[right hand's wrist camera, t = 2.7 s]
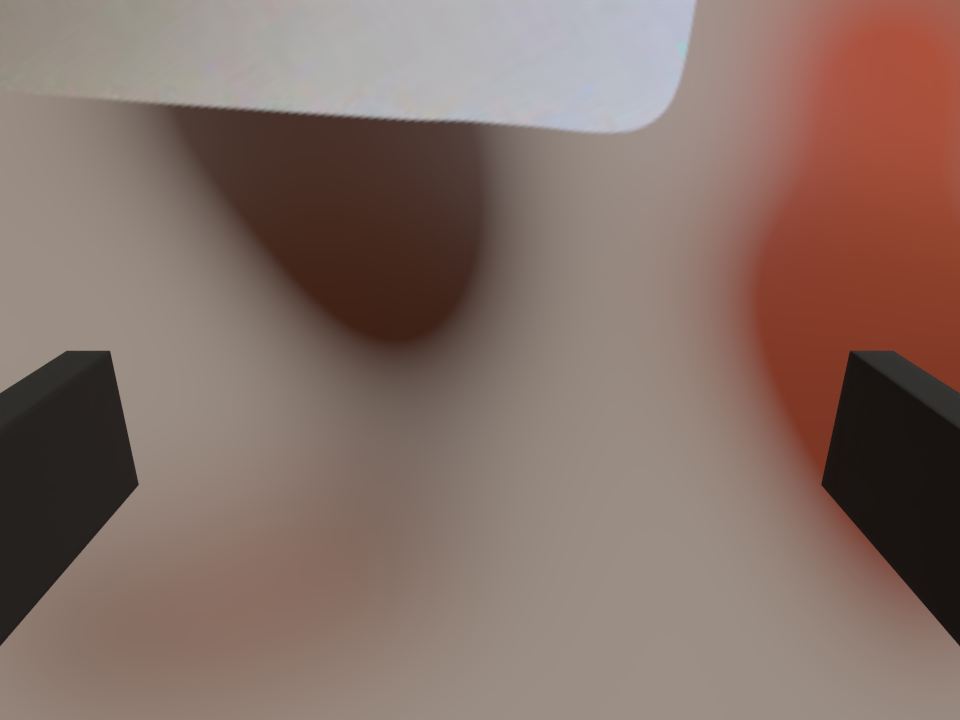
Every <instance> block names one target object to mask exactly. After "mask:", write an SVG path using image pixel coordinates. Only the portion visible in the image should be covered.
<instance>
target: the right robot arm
mask: <svg viewBox="0 0 960 720" xmlns="http://www.w3.org/2000/svg"><path fill="white" fill-rule="evenodd" d="M138 485H139V484H138V480H137V475H136V470H135V466H134V461H133V456H132V452H131V447H130V442H129V437H128V433H127V428H126V424H125V419H124V414H123V409H122V405H121V400H120V396H119V391H118V386H117V381H116V377H115V372H114V367H113V363H112V358H111V354H110V351H66V352H64V353H63V354H61V355H60V356H58V357H56V358H55V359H53V360H52V361H50V362H49V363H47V364H45V365H44V366H42V367H41V368H39V369H38V370H36V371H34V372H33V373H31V374H30V375H28V376H27V377H25V378H23V379H22V380H20V381H19V382H17V383H16V384H14V385H12V386H11V387H9V388H8V389H6V390H5V391H3V392H2V393H0V646H1V644H2V643H3V642H4V641H5V640H6V639H7V637H8V636H9V635H10V634H11V633H12V632H13V630H14V629H15V628H16V627H17V626H18V625H19V624H20V622H21V621H22V620H23V619H24V618H25V616H26V615H27V614H28V613H29V612H30V611H31V609H32V608H33V607H34V606H35V605H36V604H37V603H38V601H39V600H40V599H41V598H42V597H43V596H44V594H45V593H46V592H47V591H48V590H49V589H50V587H51V586H52V585H53V584H54V583H55V582H56V580H57V579H58V578H59V577H60V576H61V575H62V573H63V572H64V571H65V570H66V569H67V568H68V566H69V565H70V564H71V563H72V562H73V561H74V559H75V558H76V557H77V556H78V555H79V554H80V553H81V551H82V550H83V549H84V548H85V547H86V545H87V544H88V543H89V542H90V541H91V540H92V539H93V537H94V536H95V535H96V534H97V533H98V532H99V530H100V529H101V528H102V527H103V526H104V524H105V523H106V522H107V521H108V520H109V519H110V518H111V516H112V515H113V514H114V513H115V512H116V511H117V509H118V508H119V507H120V506H121V505H122V504H123V502H124V501H125V500H126V499H127V498H128V497H129V495H130V494H131V493H132V492H133V491H134V490H135V488H136V487H137V486H138ZM821 485H822V486H823V487H824V488H825V490H826V491H827V492H828V493H829V494H830V495H831V497H832V498H833V499H834V500H835V501H836V502H837V504H838V505H839V506H840V507H841V508H842V509H843V511H844V512H845V513H846V514H847V515H848V516H849V518H850V519H851V520H852V521H853V522H854V523H855V525H856V526H857V527H858V528H859V529H860V530H861V532H862V533H863V534H864V535H865V536H866V537H867V539H868V540H869V541H870V542H871V543H872V544H873V546H874V547H875V548H876V549H877V550H878V551H879V552H880V554H881V555H882V556H883V557H884V558H885V559H886V561H887V562H888V563H889V564H890V565H891V566H892V568H893V569H894V570H895V571H896V572H897V573H898V575H899V576H900V577H901V578H902V579H903V580H904V582H905V583H906V584H907V585H908V586H909V587H910V589H911V590H912V591H913V592H914V593H915V594H916V596H917V597H918V598H919V599H920V600H921V601H922V603H923V604H924V605H925V606H926V607H927V608H928V610H929V611H930V612H931V613H932V614H933V615H934V616H935V618H936V619H937V620H938V621H939V622H940V623H941V625H942V626H943V627H944V628H945V629H946V630H947V632H948V633H949V634H950V635H951V636H952V637H953V639H954V640H955V641H956V642H957V643H958V644H959V646H960V393H958V392H957V391H955V390H954V389H952V388H951V387H949V386H948V385H946V384H944V383H943V382H941V381H940V380H938V379H937V378H935V377H933V376H932V375H930V374H929V373H927V372H925V371H924V370H922V369H921V368H919V367H918V366H916V365H915V364H913V363H911V362H910V361H908V360H907V359H905V358H904V357H902V356H900V355H899V354H897V353H896V352H894V351H850V353H849V358H848V363H847V367H846V372H845V377H844V381H843V386H842V391H841V396H840V400H839V405H838V409H837V414H836V419H835V423H834V428H833V433H832V437H831V442H830V447H829V451H828V456H827V461H826V466H825V470H824V475H823V480H822V484H821Z"/></svg>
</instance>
